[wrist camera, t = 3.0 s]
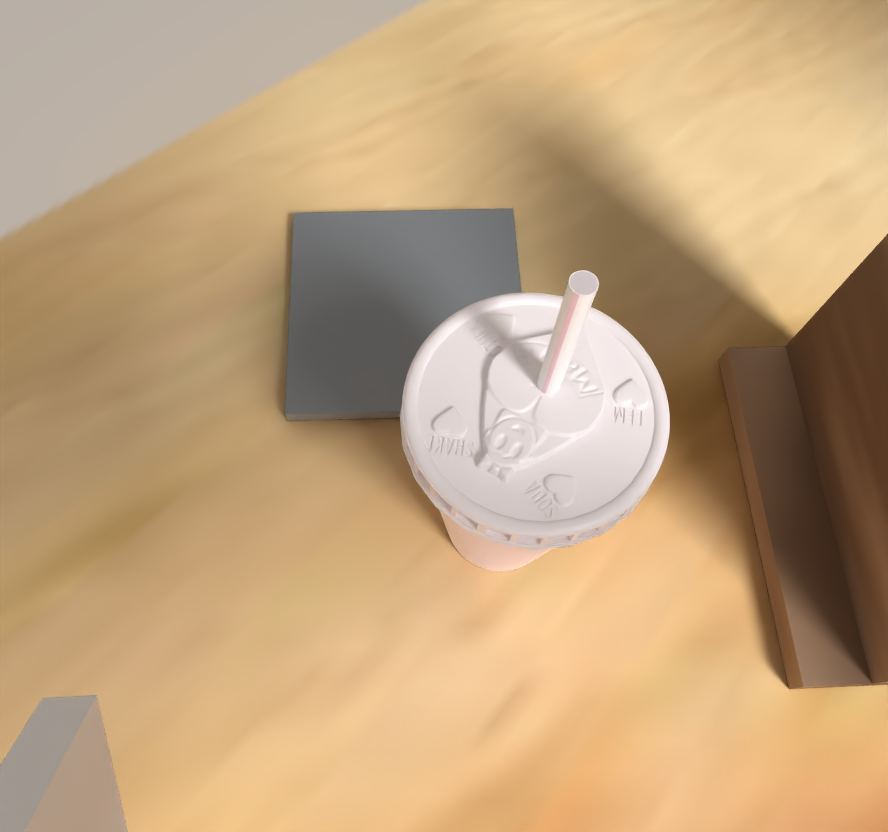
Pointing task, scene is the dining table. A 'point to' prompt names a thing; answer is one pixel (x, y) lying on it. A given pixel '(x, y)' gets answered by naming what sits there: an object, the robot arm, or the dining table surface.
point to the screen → (822, 480)
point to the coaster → (382, 299)
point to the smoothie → (533, 423)
